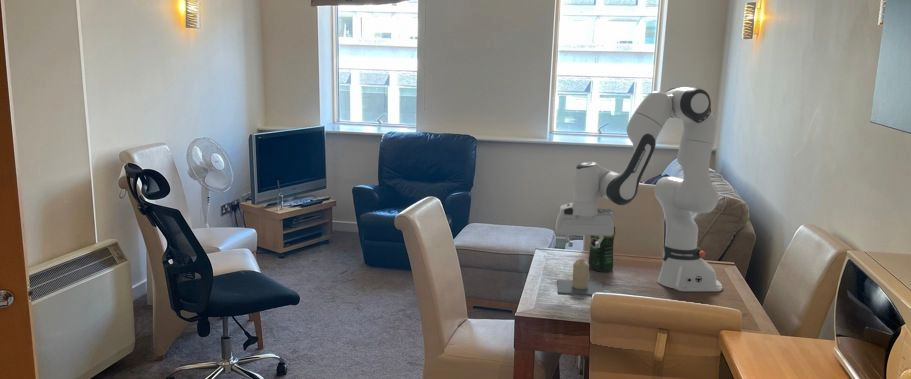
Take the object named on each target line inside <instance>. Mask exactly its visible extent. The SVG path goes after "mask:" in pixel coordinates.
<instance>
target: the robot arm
mask: <svg viewBox="0 0 911 379" xmlns="http://www.w3.org/2000/svg"><path fill="white" fill-rule="evenodd" d="M711 107H712V101H711V97H710V95H709V93H708V92H707V91H706V90H705V89H702V88H700V87H692V86H691V87H690V86H682V87H673V88H669V89H667V90H665V91H664V92H663V91H659V90H658V91H657V90H653V91H651V92H649V93H648V95H646V97H645V98H643V100H642V101H641V103H640V104H639V105H638V106H637V108H636V109H635V111H634V112H633V114H632V115H631V117H630V119H629V121H628V123H627V126H626V133H627V137H628V139H629V140H630V142H631V143H632V145H633V147H632V148H633V149H632V153H631V155H630V157H629V159H628V162H627V164H626V165H625V168H624V169H623V171H622V172H619V173H618V172H617V171H613V170H610V169H607V168H605V167H603V166H601V165H599V163H597V162H595V161H584V162H581V163H579V164H578V165H576V167H575V169H574V174H573V181H572V183H573V184H572V186H573V198H572V202H570V203H565V204H561V205H560V207H559V213H558V214H557V216H556V217H557V218H556V221H555V233H556V234H557V235H565V239H566V241H567V242H568V246H567V247H569V248H570V247H571V248H573V244H574V242H573V240H571V239H570V236H591V235H596V236H599V238H600V239H599V241H598V242H595V244H596V245H595V247H596V248H600V243H601V242H602V240H603V237H604V236H612V235H613V234H614V227H615V226H614V225H615V224H614V223H615V221H616V212H615V211H614V210H612V209H611V208H607V209H605V208H599V201H600V200H599V199H600V198H604V199H606V200H608V201H609V200H610V201H611V202H612V203H614V204H616V205H617V206H625V205H628V204H630V203H631V202H633V200H634V199H635V198H636V196H637V194H638V190H639V185H640V182H641V179H642V177H643V175H644V172H645V170H646V169H647V166H648V164H649V162H650V161H651V158H652V156H653V154H654V151H655V149H656V146H657V145H656V144H657V139H658V137H659V135H660V132H661V131H662V129H663V127H665V124H666V122H667V121H668V120H669V119H670V118H672V119H673V118H674V119H679V120H680V119H681V121H682V122H683V123H682V124H683V130H682V133H681V138H680V141H679V147H678V151H677V157H676V160H677V162H678V164H679V166H680V168H681V170H682V172H683V173H682V174H683V177H679V176H663V177H660V178H659V179H658V180H657V182H656V183H655V186H654V189H653V190H654V191H653V192H654V194H653V195H654V197H655V198H656V200H657V201H658V202H659V204H660V207H661V208H662V211H663V215H664V216H663V217H664V219H665V220H664V221H665V241H664V242H665V243H664V244H663V248H662V265H661V269H660V272H659V275H658V278H657V283H658V284H660V285H662V286H664V287H667V288H671V289H674V290H676V291H678V292H721V291H723V285H722V283H721V282H720V280H718V279H717V274H716V270H715V269H714V268H713V267H712V265H710V264H709V263H708V262H707V261H706V260H704V259H703V258H705V256H706V255H707V254H706V252H705V251H704V250H703V249H701V248H700V247H699V246H698V237H699V227H698V224H697V223H696V222H695V220H694V218H693V217H692V215H691V213H695V214H709V213H711V212H712V211H714V210H715V209H716V207H717V205H718V202H719V195H718V194H719V193H718V191H717V189H716V188H715V186H714V185H713V183H712V179H711V174H710V162H711V156H712V151H713V146H714V142H715V136H716V128H717V126H716V125H717V124H716V123H717V122H716V120H717V119H716V117H715V115H714V114H713V113H712V108H711Z"/></svg>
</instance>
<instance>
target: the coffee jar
mask: <svg viewBox="0 0 911 379" xmlns="http://www.w3.org/2000/svg"><path fill="white" fill-rule="evenodd" d="M615 236H616V226H614V234H613V235H612V236H604V237H603V240H602V242H601V243H600V248H596V247H595V245H596V244H595V242H598V241H599V239H600V238H599V236H596V235H590V245H589V253H588V254H589V255H588V261H587V263H588V264H589V269H592V270H594V271H597V272H604V273H605V272H606V273H607V272H611V271H612V270H613V269H614V240H615Z"/></svg>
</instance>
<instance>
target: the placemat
mask: <svg viewBox="0 0 911 379" xmlns="http://www.w3.org/2000/svg"><path fill="white" fill-rule="evenodd" d="M556 281H557V283H556V284H557V294H558V295H571V296H572V295H573V296H584V295H587V296H588V297H593V296H592V294H593V293H595V292H604V293H605V290H604V286H603V282H601V281H588V288H587V289H575V288H573V287H572V282H573V280H569V279H568V280H567V279H557V280H556ZM587 296H586V297H587Z"/></svg>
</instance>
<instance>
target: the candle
mask: <svg viewBox="0 0 911 379" xmlns="http://www.w3.org/2000/svg"><path fill="white" fill-rule="evenodd" d="M589 274H590V267H589V264H588V261H587V260H585V259H584V258H582V259H580V258H579V259H577V260H575V261H574V263H573V268H572V281H573V282H572V287H573V288H575V289H587V288H588V282H589Z"/></svg>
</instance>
